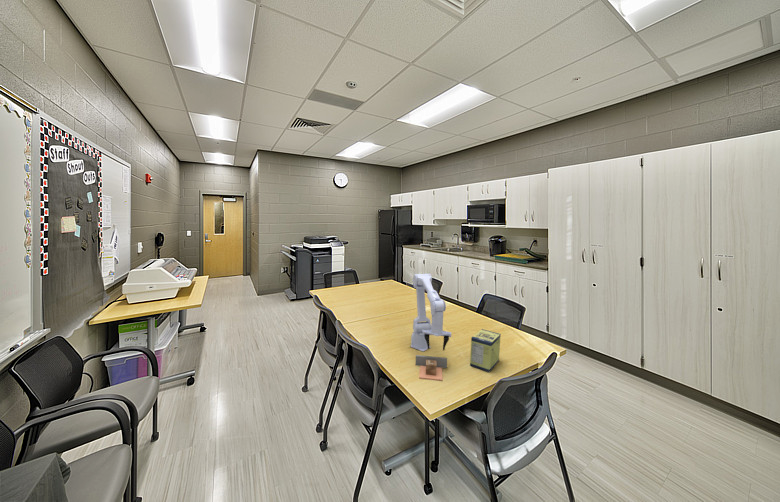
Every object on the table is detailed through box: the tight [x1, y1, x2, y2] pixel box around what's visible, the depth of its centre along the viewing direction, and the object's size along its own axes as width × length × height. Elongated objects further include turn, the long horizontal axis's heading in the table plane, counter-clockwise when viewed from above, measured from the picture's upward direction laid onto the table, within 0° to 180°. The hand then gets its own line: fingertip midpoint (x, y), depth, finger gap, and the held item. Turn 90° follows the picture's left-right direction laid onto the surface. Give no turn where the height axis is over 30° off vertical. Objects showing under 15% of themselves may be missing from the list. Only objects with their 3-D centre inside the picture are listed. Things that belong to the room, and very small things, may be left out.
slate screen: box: [415, 354, 448, 369], centre depth 146 cm, size 16×1×5 cm, turn 81°
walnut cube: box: [426, 360, 436, 375], centre depth 139 cm, size 5×5×5 cm
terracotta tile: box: [418, 366, 443, 382], centre depth 139 cm, size 11×11×1 cm
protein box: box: [469, 328, 501, 373], centre depth 149 cm, size 10×16×16 cm
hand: (436, 348), depth 145 cm, fingers open, 7 cm apart
